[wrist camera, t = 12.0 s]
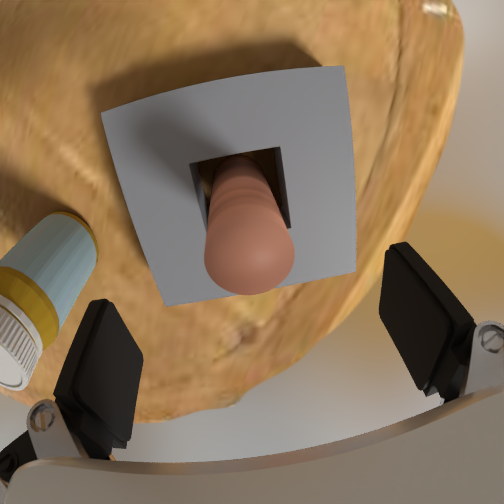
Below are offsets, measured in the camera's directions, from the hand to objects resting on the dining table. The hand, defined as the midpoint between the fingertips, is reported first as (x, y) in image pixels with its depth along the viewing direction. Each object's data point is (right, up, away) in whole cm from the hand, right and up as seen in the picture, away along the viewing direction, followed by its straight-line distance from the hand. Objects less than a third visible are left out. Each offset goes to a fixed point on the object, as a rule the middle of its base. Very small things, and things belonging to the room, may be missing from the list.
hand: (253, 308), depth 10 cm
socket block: (-1, +8, +14) cm, 16 cm away
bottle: (-17, +3, +15) cm, 23 cm away
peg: (-1, +8, +14) cm, 16 cm away
